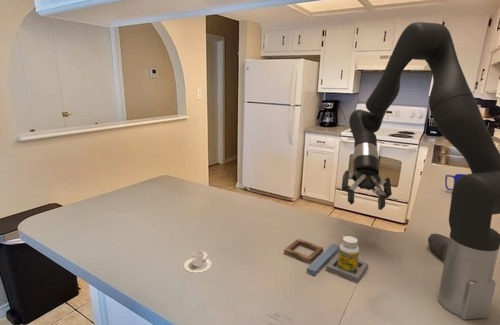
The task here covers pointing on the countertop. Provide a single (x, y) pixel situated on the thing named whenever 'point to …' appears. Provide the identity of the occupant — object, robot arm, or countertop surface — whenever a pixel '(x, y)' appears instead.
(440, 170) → the countertop surface
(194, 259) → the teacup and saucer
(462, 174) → the mug
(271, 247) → the countertop surface
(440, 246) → the perforated stone tool
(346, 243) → the supplement bottle
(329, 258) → the door sill
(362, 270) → the holder open
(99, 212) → the countertop surface
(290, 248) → the holder
